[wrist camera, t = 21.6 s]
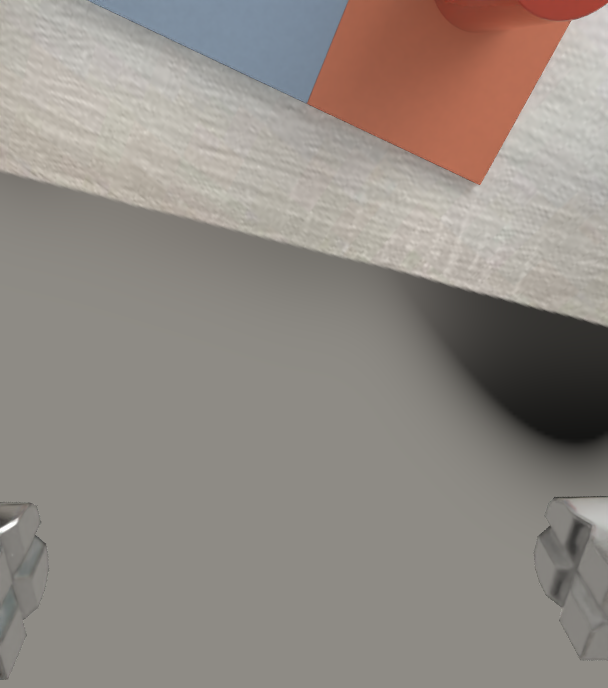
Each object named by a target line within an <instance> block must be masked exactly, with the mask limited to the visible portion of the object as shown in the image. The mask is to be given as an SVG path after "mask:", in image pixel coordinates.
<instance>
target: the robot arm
mask: <svg viewBox="0 0 608 688" xmlns="http://www.w3.org/2000/svg"><path fill="white" fill-rule="evenodd" d="M544 516H545V517H546V519H547V521H548V523H549V524H550V526H549V527H548V528H547V529H546V530H544V531H543V532H542V533H541V534H540V535H539V536H538V538H537V542H536V546H535V550H534V560H535V570H536V573H537V577H538V580H539V583H540V585H541V587H542V588H543V591H544V592H545V595H546V596H547V597H548V598H550V599H551V600H552V601H554V602H555V603H556V604H558V605H559V606H560V607H562V611H561V615H560V619H559V621H560V623H561V625H562V627H563V629H564V630H565V632H566V634H567V636H568V638H569V640H570V642H571V644H572V645H573V647H574V649H575V651H576V653H577V655H578V656H579V658H580V660H608V496H597V497H596V496H593V497H554V498H553V499H552V500H551V501H550V502H549V504H548V506H547V509H546V512H545V515H544ZM40 523H41V520H40V516H39V512H38V509H37V506H36V505H34V504H32V503H21V502H19V503H18V502H0V680H4V679H8V678H9V675H10V673H11V671H12V669H13V666H14V664H15V661H16V659H17V657H18V654H19V652H20V650H21V647H22V645H23V643H24V640H25V638H26V631H25V627H24V623H23V620H24V619H25V618H26V617H28V616H29V615H30V614H31V613H32V612H33V611H35V610H36V609H37V608H38V606H39V604H40V601H41V599H42V596H43V594H44V591H45V587H46V582H47V576H48V571H49V565H48V551H47V546H46V543H44V542H43V541H42V540H41V539H40V538H39V537H37V536H36V535H35V534H36V532H37V530H38V528H39V525H40Z"/></svg>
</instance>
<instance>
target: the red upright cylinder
mask: <svg viewBox="0 0 608 688" xmlns="http://www.w3.org/2000/svg"><path fill="white" fill-rule="evenodd" d="M434 1H435V3H436V5H437V7H438V9H439V11H440V12H441V14H442V15H443V16H444V17H445V19H446V20H447V21H448V22H450V23H451V24H452V25H454V26H455V27H457V28H459V29H461V30H463V31H467V32H471V33H485V32H492V31H499V30H506V29H513V28H520V27H528V26H535V25H542V24H549V23H556V22H563V21H570V20H575V19H579V18H582V17H584V16H587V15H589V14H591V13H593V12H595V11H597V10H599V9H600V8H602V7H603V6H605V5H606V4H607V3H608V0H434Z"/></svg>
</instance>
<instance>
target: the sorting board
mask: <svg viewBox="0 0 608 688" xmlns="http://www.w3.org/2000/svg"><path fill="white" fill-rule="evenodd" d="M88 1H90V2H92V3H94V4H96V5H98V6H100V7H103V8H105V9H107V10H109V11H111V12H113V13H115V14H117V15H120V16H122V17H124V18H126V19H128V20H130V21H132V22H134V23H137V24H139V25H141V26H143V27H145V28H147V29H149V30H151V31H154V32H156V33H158V34H160V35H162V36H164V37H166V38H168V39H171V40H173V41H175V42H177V43H179V44H181V45H183V46H185V47H188V48H190V49H192V50H194V51H196V52H198V53H200V54H202V55H205V56H207V57H209V58H211V59H213V60H215V61H217V62H219V63H222V64H224V65H226V66H228V67H230V68H232V69H234V70H236V71H239V72H241V73H243V74H245V75H247V76H249V77H251V78H253V79H256V80H258V81H260V82H262V83H264V84H266V85H268V86H270V87H273V88H275V89H277V90H279V91H281V92H283V93H285V94H287V95H290V96H292V97H294V98H296V99H298V100H300V101H302V102H304V103H307V104H309V105H311V106H313V107H315V108H317V109H319V110H321V111H323V112H326V113H328V114H330V115H332V116H334V117H336V118H338V119H340V120H343V121H345V122H347V123H349V124H351V125H353V126H355V127H357V128H360V129H362V130H364V131H366V132H368V133H370V134H372V135H374V136H377V137H379V138H381V139H383V140H385V141H387V142H389V143H391V144H394V145H396V146H398V147H400V148H402V149H404V150H406V151H408V152H411V153H413V154H415V155H417V156H419V157H421V158H423V159H425V160H428V161H430V162H432V163H434V164H436V165H438V166H440V167H442V168H445V169H447V170H449V171H451V172H453V173H455V174H457V175H459V176H462V177H464V178H466V179H468V180H470V181H472V182H474V183H476V184H479V185H480V184H481V182H482V181H483V179H484V177H485V175H486V173H487V172H488V170H489V168H490V166H491V164H492V163H493V161H494V159H495V157H496V155H497V154H498V152H499V150H500V148H501V146H502V144H503V143H504V141H505V139H506V137H507V135H508V134H509V132H510V130H511V128H512V126H513V125H514V123H515V121H516V119H517V117H518V116H519V114H520V112H521V110H522V108H523V107H524V105H525V103H526V101H527V99H528V98H529V96H530V94H531V92H532V90H533V89H534V87H535V85H536V83H537V81H538V79H539V78H540V76H541V74H542V72H543V70H544V69H545V67H546V65H547V63H548V61H549V60H550V58H551V56H552V54H553V52H554V51H555V49H556V47H557V45H558V43H559V42H560V40H561V38H562V36H563V34H564V33H565V31H566V29H567V27H568V25H569V23H570V22H571V20H570V21H563V22H556V23H549V24H542V25H535V26H528V27H520V28H513V29H506V30H499V31H492V32H485V33H471V32H467V31H463V30H461V29H459V28H457V27H455V26H454V25H452V24H451V23H450V22H448V21H447V20H446V19H445V17H444V16H443V15H442V14H441V12H440V11H439V9H438V7H437V5H436V3H435V1H434V0H88Z"/></svg>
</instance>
